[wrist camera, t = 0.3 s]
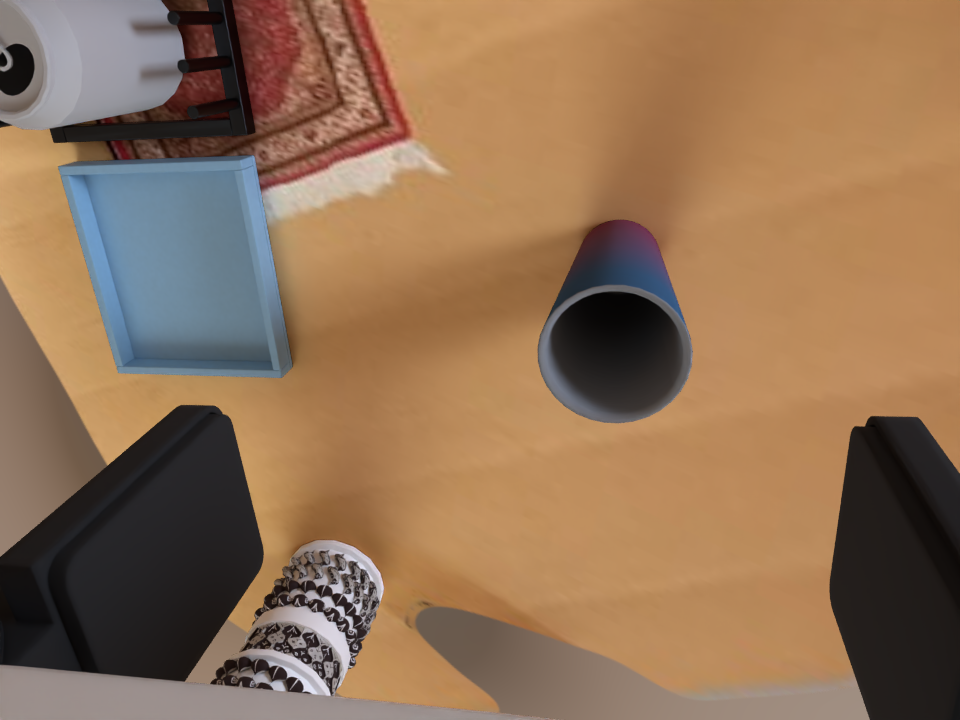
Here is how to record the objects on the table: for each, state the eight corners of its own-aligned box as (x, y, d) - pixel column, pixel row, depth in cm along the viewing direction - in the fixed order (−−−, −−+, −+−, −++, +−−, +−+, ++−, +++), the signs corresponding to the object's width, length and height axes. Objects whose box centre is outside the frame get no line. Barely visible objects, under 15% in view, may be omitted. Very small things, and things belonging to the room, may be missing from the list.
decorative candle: (388, 630, 63) (257, 962, 41) (287, 610, 65) (106, 922, 42) (389, 547, 59) (245, 864, 37) (281, 527, 61) (79, 823, 38)
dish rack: (13, -44, 45) (-70, -53, 40) (220, -65, 43) (161, -77, 37) (65, 140, 50) (-3, 155, 44) (256, 132, 47) (207, 147, 42)
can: (151, 133, 48) (15, 166, 38) (61, 44, 47) (-106, 51, 36) (215, 48, 45) (86, 58, 35) (120, -51, 44) (-44, -72, 33)
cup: (545, 279, 48) (512, 381, 34) (597, 185, 44) (582, 257, 31) (638, 327, 48) (641, 447, 34) (696, 237, 45) (723, 330, 31)
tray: (76, 161, 50) (57, 166, 49) (254, 155, 48) (240, 160, 46) (133, 362, 57) (117, 373, 55) (293, 366, 54) (282, 378, 52)
